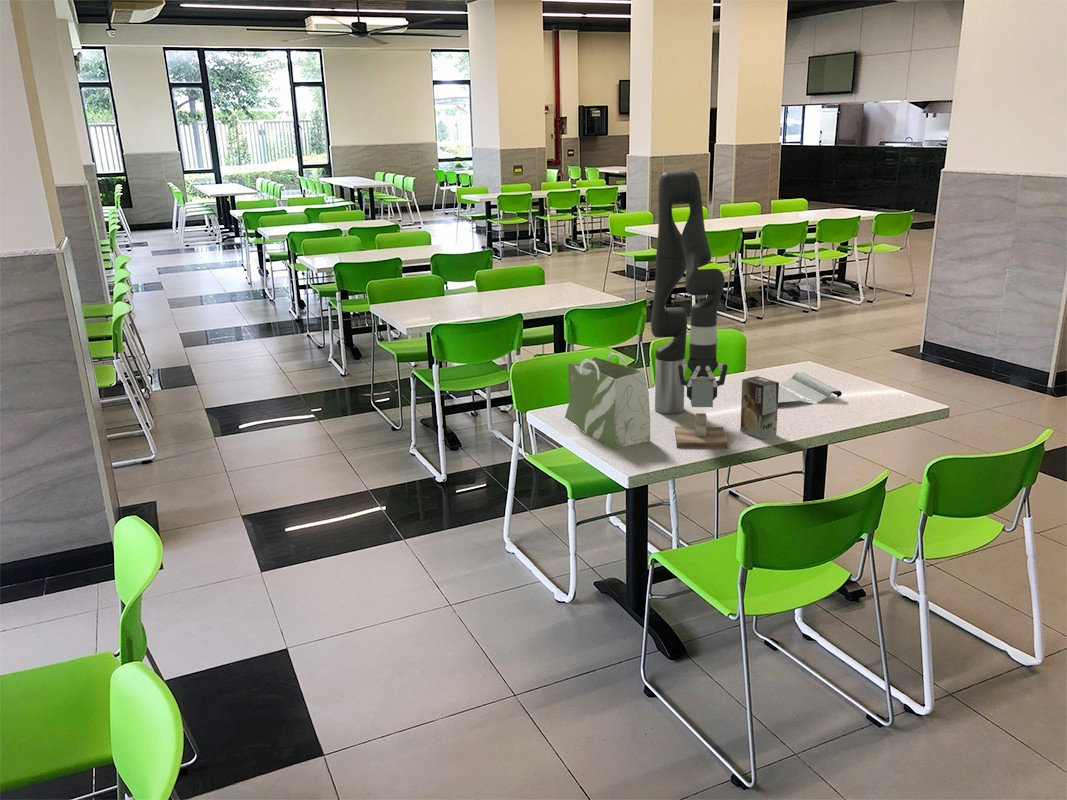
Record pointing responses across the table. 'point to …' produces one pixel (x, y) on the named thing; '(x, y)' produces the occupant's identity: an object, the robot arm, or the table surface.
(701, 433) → the flat brown square board
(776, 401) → the coffee box
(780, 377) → the table surface
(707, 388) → the slate grey cube
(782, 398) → the mat
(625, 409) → the grocery bag
